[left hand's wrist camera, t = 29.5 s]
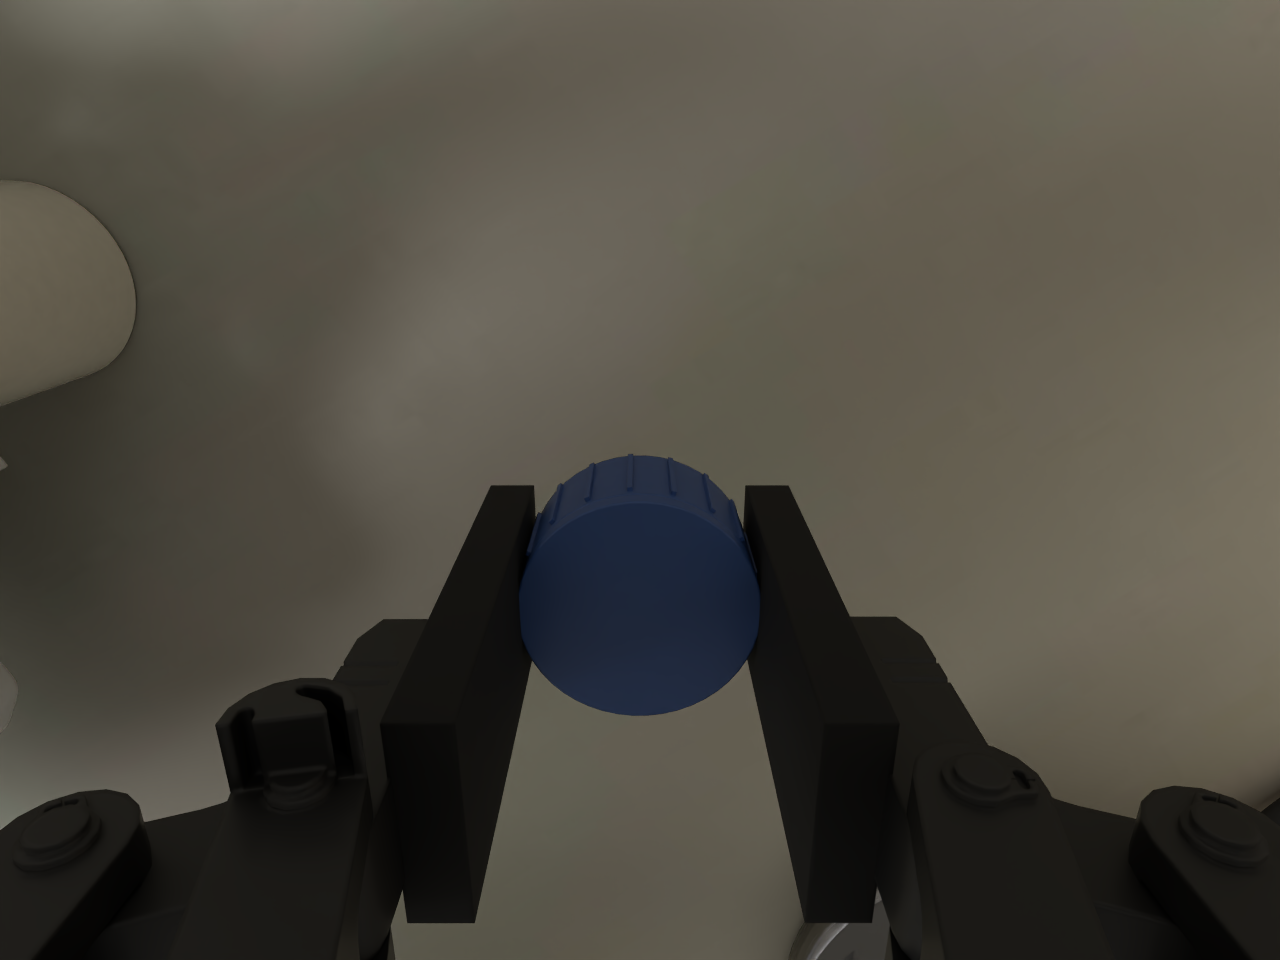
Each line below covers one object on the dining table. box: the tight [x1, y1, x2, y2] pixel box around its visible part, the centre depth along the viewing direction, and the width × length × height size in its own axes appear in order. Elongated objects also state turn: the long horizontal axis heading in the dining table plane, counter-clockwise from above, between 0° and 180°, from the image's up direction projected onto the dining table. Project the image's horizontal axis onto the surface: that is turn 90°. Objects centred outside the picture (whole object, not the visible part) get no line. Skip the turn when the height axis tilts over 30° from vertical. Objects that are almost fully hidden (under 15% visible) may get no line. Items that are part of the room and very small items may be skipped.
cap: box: [519, 454, 760, 716], centre depth 13 cm, size 4×4×2 cm
